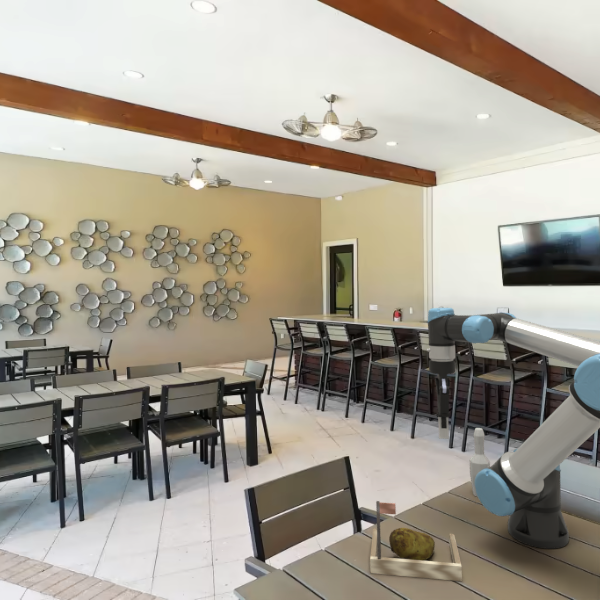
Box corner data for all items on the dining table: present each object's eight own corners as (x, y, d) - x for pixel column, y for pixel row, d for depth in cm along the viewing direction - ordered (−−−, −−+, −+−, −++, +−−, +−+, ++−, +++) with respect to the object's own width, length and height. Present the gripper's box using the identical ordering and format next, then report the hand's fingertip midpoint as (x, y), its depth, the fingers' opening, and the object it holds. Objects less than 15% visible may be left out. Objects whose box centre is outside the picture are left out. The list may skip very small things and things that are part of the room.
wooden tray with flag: (454, 547, 127) (452, 482, 127) (462, 581, 112) (460, 507, 112) (373, 540, 131) (371, 478, 131) (370, 573, 116) (368, 502, 116)
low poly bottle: (470, 497, 157) (469, 431, 157) (470, 489, 163) (468, 425, 163) (491, 499, 155) (489, 432, 155) (489, 491, 161) (488, 426, 161)
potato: (444, 565, 119) (443, 533, 119) (394, 570, 117) (393, 538, 117) (430, 547, 127) (430, 517, 127) (384, 552, 126) (383, 522, 125)
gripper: (427, 356, 149) (429, 431, 150) (430, 362, 136) (432, 444, 137) (452, 356, 148) (454, 431, 148) (457, 362, 135) (459, 445, 135)
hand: (443, 437), depth 143 cm, fingers closed
